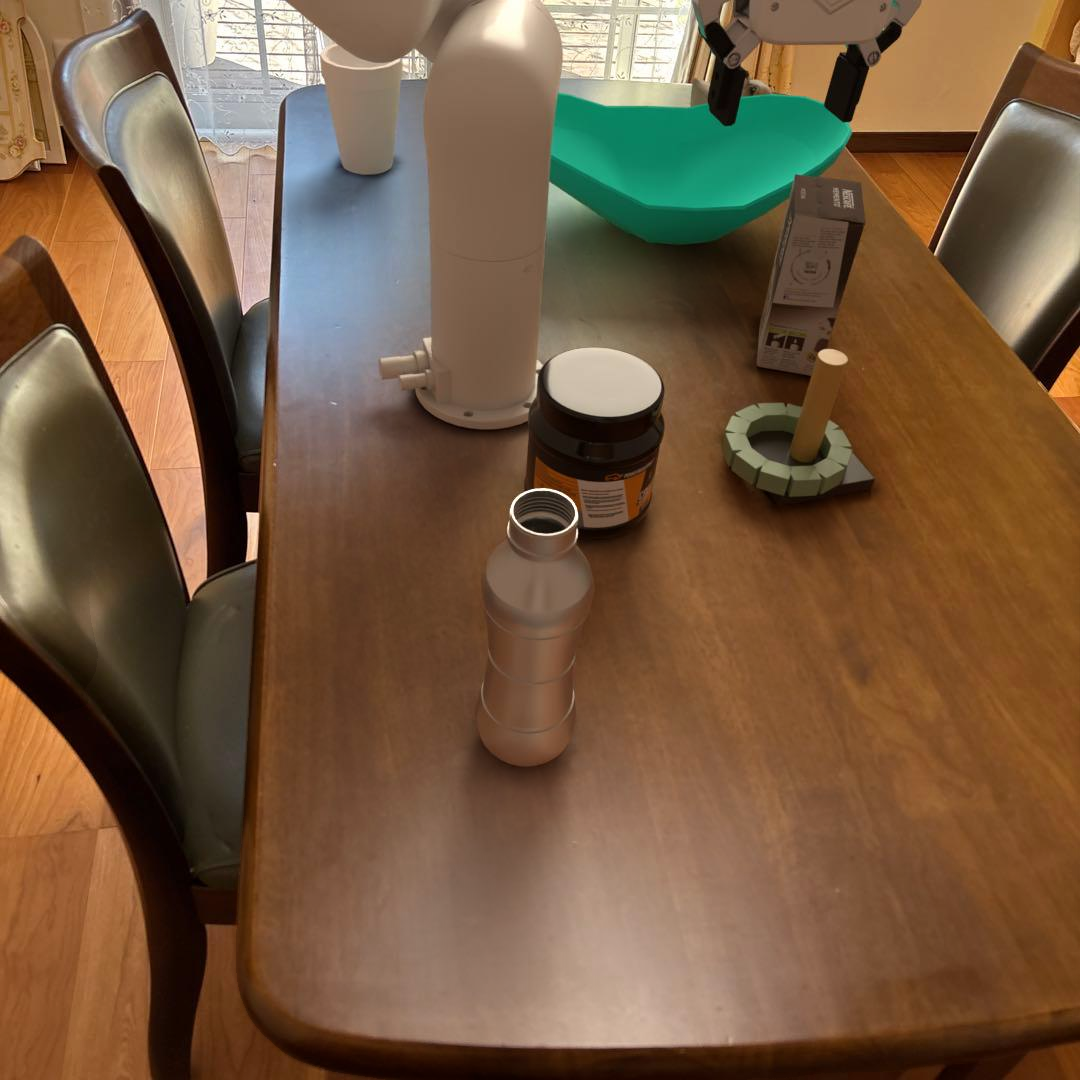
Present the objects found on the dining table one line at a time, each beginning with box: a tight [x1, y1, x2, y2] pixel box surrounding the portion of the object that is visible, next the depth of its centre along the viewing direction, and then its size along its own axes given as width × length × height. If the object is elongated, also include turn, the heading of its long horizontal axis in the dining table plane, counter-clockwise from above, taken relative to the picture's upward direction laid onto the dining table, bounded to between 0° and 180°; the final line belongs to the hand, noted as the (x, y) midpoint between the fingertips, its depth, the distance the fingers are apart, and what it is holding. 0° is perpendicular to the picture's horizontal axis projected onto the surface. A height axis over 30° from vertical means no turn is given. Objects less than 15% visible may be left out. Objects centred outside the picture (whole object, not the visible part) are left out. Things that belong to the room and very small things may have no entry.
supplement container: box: [523, 346, 666, 540], centre depth 80 cm, size 10×10×12 cm
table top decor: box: [549, 92, 853, 246], centre depth 116 cm, size 40×28×13 cm
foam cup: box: [319, 43, 404, 176], centre depth 124 cm, size 10×9×13 cm
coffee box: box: [756, 174, 866, 377], centre depth 98 cm, size 9×6×16 cm
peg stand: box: [747, 348, 875, 507], centre depth 86 cm, size 9×9×11 cm
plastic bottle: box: [475, 489, 595, 768], centre depth 60 cm, size 6×7×20 cm
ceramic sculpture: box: [689, 70, 773, 107], centre depth 140 cm, size 11×9×15 cm
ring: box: [721, 402, 853, 497], centre depth 88 cm, size 11×11×2 cm
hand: (779, 116), depth 76 cm, fingers open, 9 cm apart
